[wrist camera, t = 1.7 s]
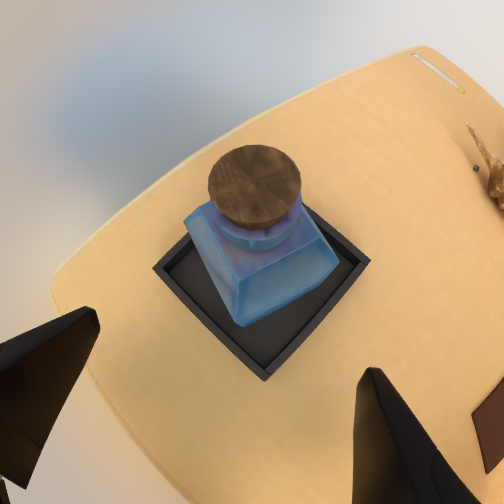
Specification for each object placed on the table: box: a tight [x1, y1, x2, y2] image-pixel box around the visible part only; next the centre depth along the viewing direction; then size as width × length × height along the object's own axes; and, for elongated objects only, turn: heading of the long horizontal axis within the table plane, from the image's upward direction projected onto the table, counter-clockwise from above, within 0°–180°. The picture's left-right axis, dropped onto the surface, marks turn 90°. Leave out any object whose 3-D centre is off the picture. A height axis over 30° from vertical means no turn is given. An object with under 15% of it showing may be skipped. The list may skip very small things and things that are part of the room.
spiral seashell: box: [463, 122, 504, 210], centre depth 21 cm, size 14×5×4 cm, turn 44°
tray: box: [152, 202, 371, 382], centre depth 20 cm, size 11×11×2 cm
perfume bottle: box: [184, 145, 340, 328], centre depth 15 cm, size 6×6×12 cm
